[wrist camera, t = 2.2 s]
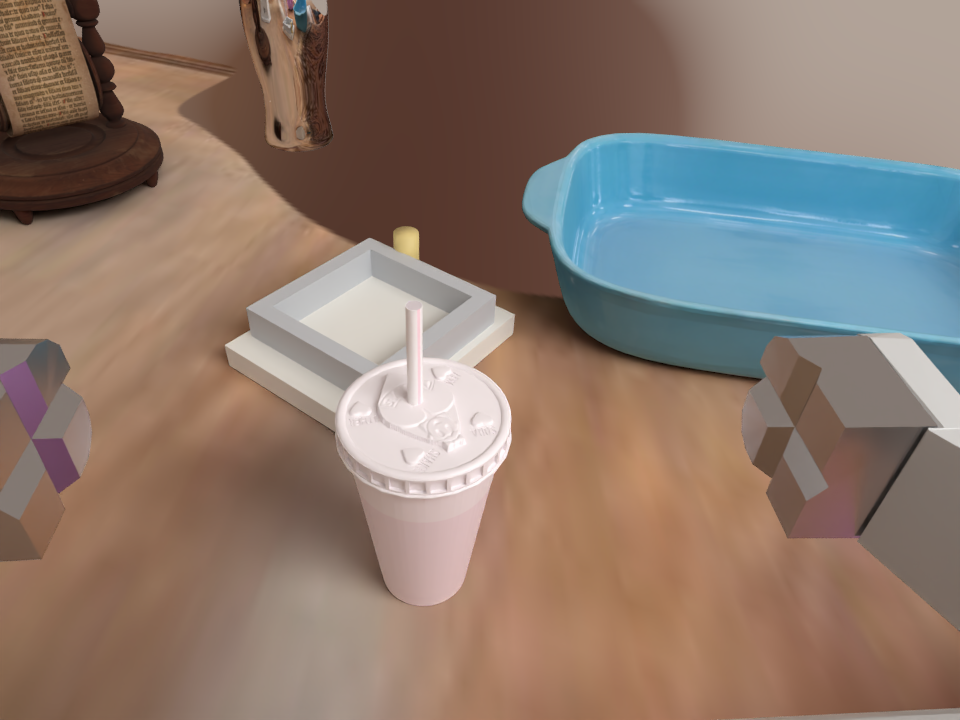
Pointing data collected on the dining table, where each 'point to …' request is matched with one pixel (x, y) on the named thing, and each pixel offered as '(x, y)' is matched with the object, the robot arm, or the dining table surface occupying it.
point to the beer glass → (290, 69)
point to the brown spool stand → (63, 113)
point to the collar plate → (361, 323)
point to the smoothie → (423, 463)
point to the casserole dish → (749, 248)
